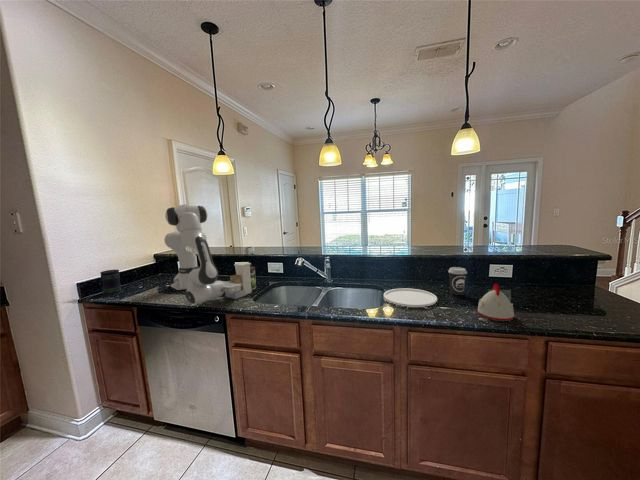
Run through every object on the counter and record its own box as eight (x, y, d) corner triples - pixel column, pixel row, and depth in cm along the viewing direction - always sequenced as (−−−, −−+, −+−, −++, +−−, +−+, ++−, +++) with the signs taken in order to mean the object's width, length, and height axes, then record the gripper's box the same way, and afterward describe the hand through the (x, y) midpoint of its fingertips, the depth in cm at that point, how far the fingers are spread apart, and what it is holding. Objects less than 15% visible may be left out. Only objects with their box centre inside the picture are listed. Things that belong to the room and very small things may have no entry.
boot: (225, 297, 160) (223, 266, 157) (244, 290, 172) (242, 261, 169) (235, 299, 155) (233, 267, 153) (253, 292, 167) (252, 263, 165)
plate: (398, 312, 129) (398, 307, 129) (375, 294, 157) (375, 290, 156) (449, 306, 135) (449, 301, 135) (418, 290, 162) (418, 286, 162)
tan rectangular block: (231, 295, 160) (229, 276, 159) (236, 293, 164) (235, 274, 163) (235, 296, 158) (234, 277, 156) (241, 294, 162) (240, 275, 160)
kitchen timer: (480, 319, 117) (482, 287, 115) (474, 308, 130) (475, 279, 128) (518, 323, 112) (520, 289, 110) (508, 311, 125) (510, 281, 123)
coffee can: (258, 286, 180) (257, 266, 179) (252, 290, 170) (250, 269, 169) (244, 285, 183) (243, 265, 181) (237, 290, 173) (235, 269, 171)
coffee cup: (468, 293, 152) (469, 268, 150) (463, 298, 145) (464, 271, 143) (450, 290, 158) (451, 266, 157) (445, 294, 151) (445, 269, 150)
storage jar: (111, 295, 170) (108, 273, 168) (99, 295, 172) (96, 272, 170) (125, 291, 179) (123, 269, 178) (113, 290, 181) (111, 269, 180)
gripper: (227, 286, 143) (247, 280, 154) (204, 281, 154) (224, 276, 165) (228, 297, 143) (248, 290, 155) (205, 292, 154) (225, 286, 166)
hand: (235, 283), depth 160 cm, fingers open, 8 cm apart
